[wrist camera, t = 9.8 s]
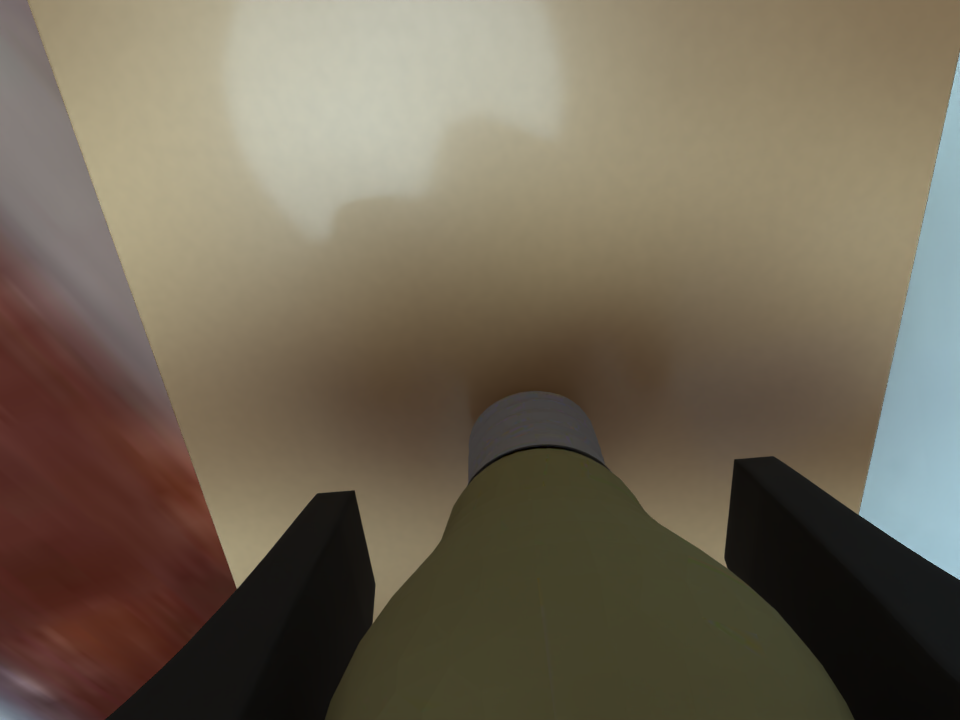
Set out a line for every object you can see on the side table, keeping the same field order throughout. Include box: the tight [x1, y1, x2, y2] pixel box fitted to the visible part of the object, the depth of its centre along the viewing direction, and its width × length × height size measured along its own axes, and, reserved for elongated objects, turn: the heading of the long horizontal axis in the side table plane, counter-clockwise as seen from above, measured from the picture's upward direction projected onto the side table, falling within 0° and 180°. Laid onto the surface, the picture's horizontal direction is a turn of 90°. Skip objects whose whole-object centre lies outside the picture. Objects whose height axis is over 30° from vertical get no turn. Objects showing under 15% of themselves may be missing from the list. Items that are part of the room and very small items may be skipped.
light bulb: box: [325, 391, 855, 720], centre depth 9 cm, size 6×6×10 cm
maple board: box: [27, 0, 960, 624], centre depth 14 cm, size 19×14×2 cm
